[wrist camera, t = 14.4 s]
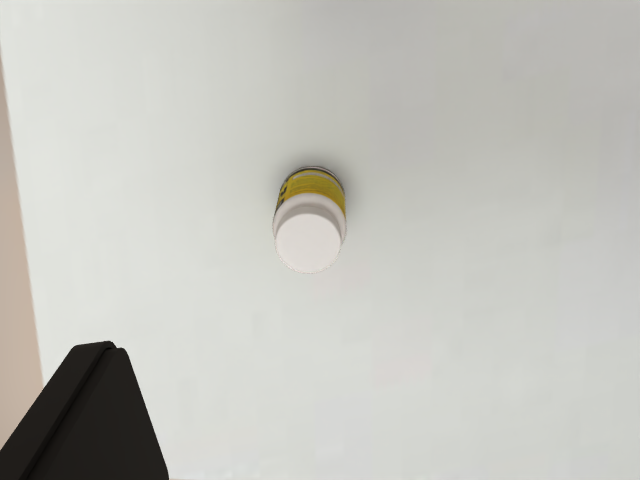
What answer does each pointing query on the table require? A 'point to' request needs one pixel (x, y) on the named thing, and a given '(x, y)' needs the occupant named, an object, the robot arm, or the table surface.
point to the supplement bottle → (310, 220)
